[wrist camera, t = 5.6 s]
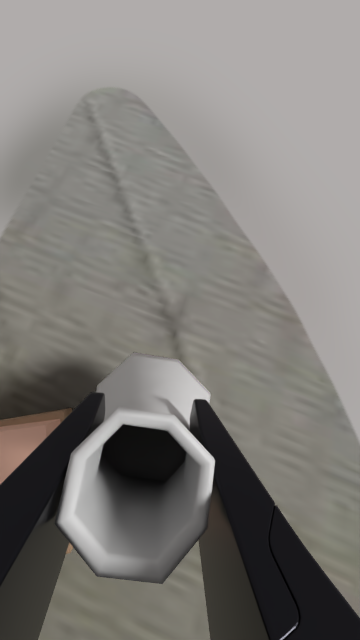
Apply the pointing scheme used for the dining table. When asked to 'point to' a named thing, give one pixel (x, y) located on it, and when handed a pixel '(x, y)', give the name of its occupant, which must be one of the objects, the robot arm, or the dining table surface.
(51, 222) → the dining table surface
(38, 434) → the terracotta slab
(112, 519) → the flask
